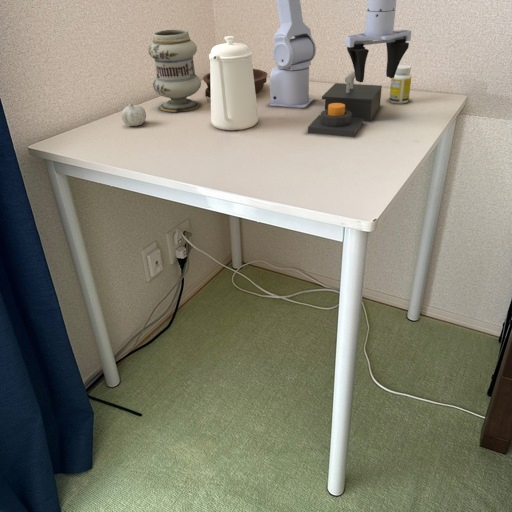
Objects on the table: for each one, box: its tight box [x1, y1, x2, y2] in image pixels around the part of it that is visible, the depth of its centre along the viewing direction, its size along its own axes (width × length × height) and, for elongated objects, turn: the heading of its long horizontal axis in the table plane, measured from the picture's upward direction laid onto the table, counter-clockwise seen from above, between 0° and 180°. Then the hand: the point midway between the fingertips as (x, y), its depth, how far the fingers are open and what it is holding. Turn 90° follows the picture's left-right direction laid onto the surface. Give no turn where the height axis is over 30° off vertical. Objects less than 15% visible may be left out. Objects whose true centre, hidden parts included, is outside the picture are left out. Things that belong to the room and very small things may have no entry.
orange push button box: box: [307, 109, 364, 138], centre depth 106 cm, size 10×9×4 cm
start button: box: [328, 103, 345, 116], centre depth 105 cm, size 4×4×2 cm
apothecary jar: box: [148, 28, 202, 113], centre depth 122 cm, size 12×12×18 cm
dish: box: [202, 68, 268, 99], centre depth 135 cm, size 18×22×5 cm
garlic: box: [121, 102, 147, 127], centre depth 114 cm, size 6×5×5 cm
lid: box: [321, 71, 383, 103], centre depth 114 cm, size 11×13×4 cm
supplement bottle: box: [388, 64, 412, 105], centre depth 121 cm, size 5×5×8 cm
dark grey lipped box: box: [324, 88, 383, 123], centre depth 116 cm, size 11×13×4 cm
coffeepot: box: [208, 35, 259, 131], centre depth 108 cm, size 11×25×19 cm, turn 168°
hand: (374, 79), depth 107 cm, fingers open, 7 cm apart
